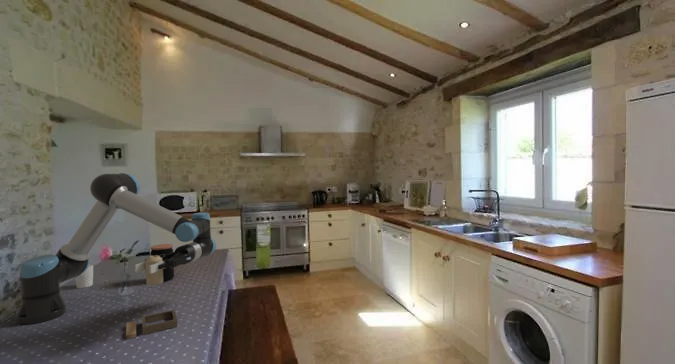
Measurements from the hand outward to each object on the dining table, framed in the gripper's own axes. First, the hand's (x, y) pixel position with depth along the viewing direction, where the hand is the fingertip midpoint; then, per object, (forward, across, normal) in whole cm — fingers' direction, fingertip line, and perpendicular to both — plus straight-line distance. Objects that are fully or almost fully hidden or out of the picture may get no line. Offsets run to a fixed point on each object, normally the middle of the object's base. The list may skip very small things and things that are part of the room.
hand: (142, 269), depth 121 cm
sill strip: (0, +6, -22) cm, 23 cm away
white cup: (-36, +73, -22) cm, 84 cm away
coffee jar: (-52, +40, -23) cm, 69 cm away
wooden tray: (-6, 0, -22) cm, 23 cm away
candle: (-5, 0, -7) cm, 8 cm away
